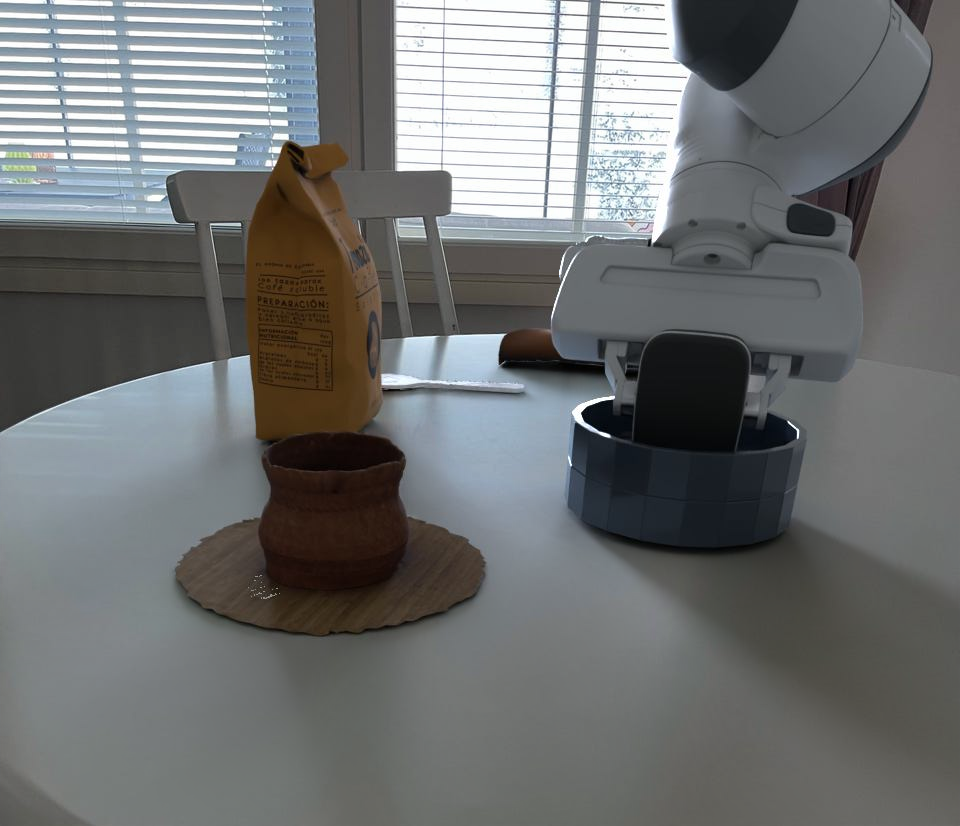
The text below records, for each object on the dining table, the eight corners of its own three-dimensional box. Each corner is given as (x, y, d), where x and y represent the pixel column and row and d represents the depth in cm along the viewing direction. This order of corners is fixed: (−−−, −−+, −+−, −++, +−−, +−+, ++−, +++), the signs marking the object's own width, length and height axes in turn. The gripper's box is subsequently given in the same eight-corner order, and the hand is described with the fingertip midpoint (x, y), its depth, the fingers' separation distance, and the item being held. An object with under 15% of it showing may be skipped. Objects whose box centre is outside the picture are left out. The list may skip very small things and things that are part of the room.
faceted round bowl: (754, 483, 72) (770, 398, 69) (818, 560, 58) (840, 458, 55) (557, 476, 72) (564, 390, 68) (575, 551, 58) (584, 449, 55)
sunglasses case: (660, 361, 110) (665, 315, 105) (654, 404, 107) (658, 358, 101) (510, 350, 113) (507, 304, 108) (499, 391, 110) (495, 345, 104)
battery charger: (729, 500, 65) (758, 331, 60) (725, 518, 62) (756, 340, 57) (629, 487, 67) (649, 321, 62) (621, 504, 64) (641, 330, 58)
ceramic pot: (550, 574, 55) (559, 457, 52) (296, 671, 44) (288, 530, 40) (360, 494, 66) (358, 394, 63) (120, 556, 55) (102, 437, 52)
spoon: (523, 396, 94) (523, 391, 94) (345, 387, 94) (345, 381, 94) (524, 384, 98) (524, 379, 98) (354, 376, 99) (354, 370, 99)
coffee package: (401, 418, 85) (400, 144, 75) (352, 456, 74) (344, 142, 64) (298, 408, 87) (284, 139, 76) (237, 443, 76) (210, 136, 66)
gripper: (564, 202, 64) (528, 376, 60) (878, 219, 60) (861, 406, 56) (569, 266, 70) (536, 427, 66) (855, 285, 66) (838, 458, 62)
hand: (688, 418), depth 61 cm, fingers closed on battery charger, 7 cm apart
